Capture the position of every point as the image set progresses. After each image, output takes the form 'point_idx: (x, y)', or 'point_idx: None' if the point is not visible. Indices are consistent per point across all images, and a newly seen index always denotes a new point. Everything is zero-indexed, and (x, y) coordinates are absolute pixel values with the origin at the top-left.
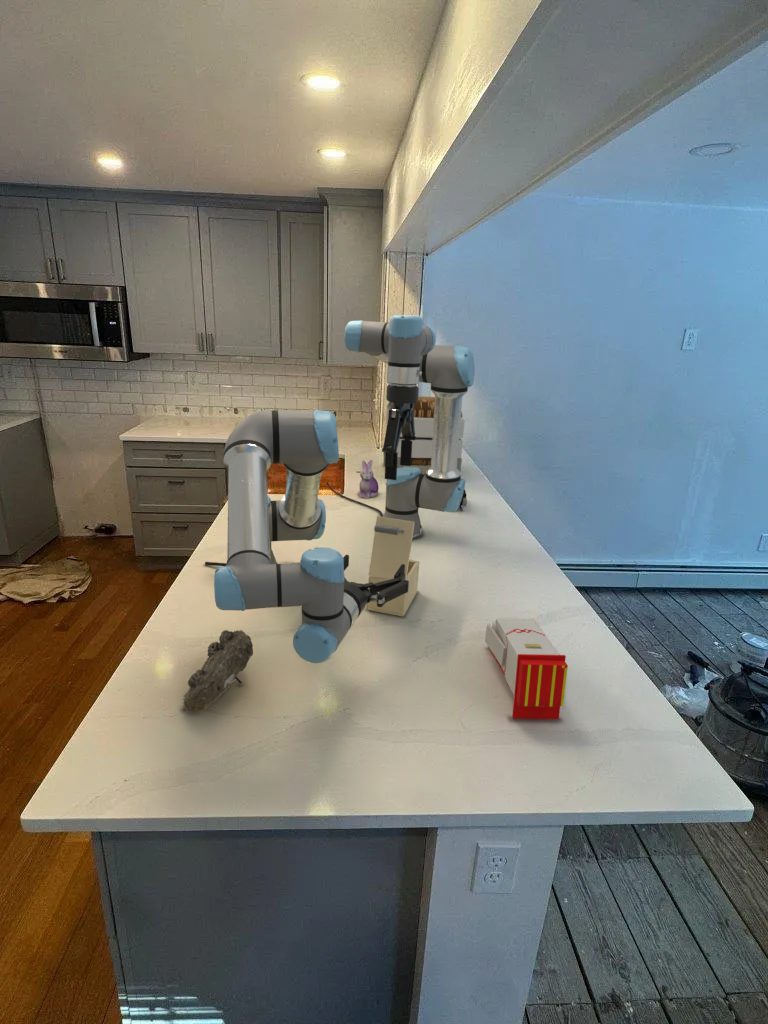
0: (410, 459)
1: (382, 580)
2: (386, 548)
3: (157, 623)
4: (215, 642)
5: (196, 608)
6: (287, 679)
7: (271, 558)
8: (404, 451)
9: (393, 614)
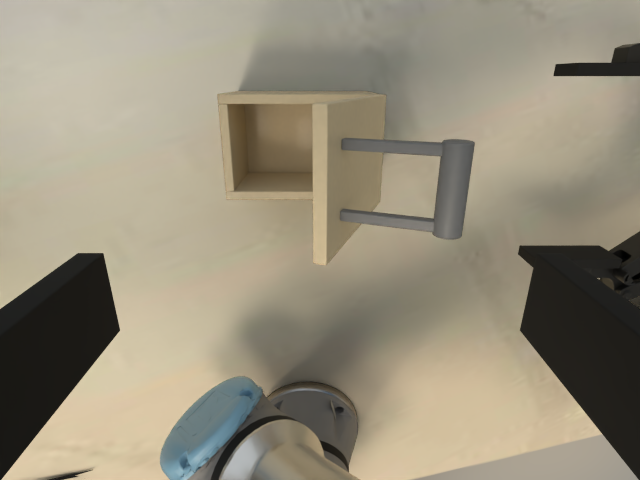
0: (67, 282)
1: None
2: (361, 181)
3: (506, 455)
4: None
5: (450, 435)
6: (630, 228)
7: (303, 419)
8: (35, 388)
9: None
